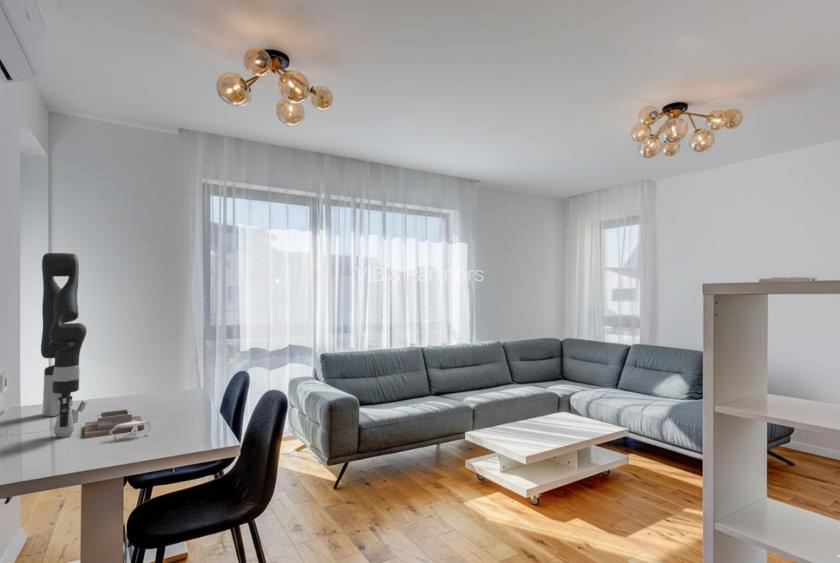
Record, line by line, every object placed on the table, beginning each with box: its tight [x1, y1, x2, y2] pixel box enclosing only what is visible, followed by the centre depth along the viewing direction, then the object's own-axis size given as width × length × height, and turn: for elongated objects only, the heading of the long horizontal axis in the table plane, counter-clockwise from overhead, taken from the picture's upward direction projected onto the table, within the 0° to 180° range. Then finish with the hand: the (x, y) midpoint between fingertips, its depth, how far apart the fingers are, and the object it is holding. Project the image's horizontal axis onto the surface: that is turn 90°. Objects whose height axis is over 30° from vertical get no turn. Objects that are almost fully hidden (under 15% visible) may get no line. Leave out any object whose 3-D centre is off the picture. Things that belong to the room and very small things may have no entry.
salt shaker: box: [53, 399, 75, 438], centre depth 160 cm, size 6×6×13 cm
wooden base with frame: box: [84, 408, 145, 439], centre depth 170 cm, size 18×18×6 cm
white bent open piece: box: [109, 420, 152, 440], centre depth 159 cm, size 12×8×5 cm
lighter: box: [71, 400, 88, 423], centre depth 178 cm, size 7×2×8 cm, turn 149°
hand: (64, 424), depth 159 cm, fingers open, 8 cm apart
